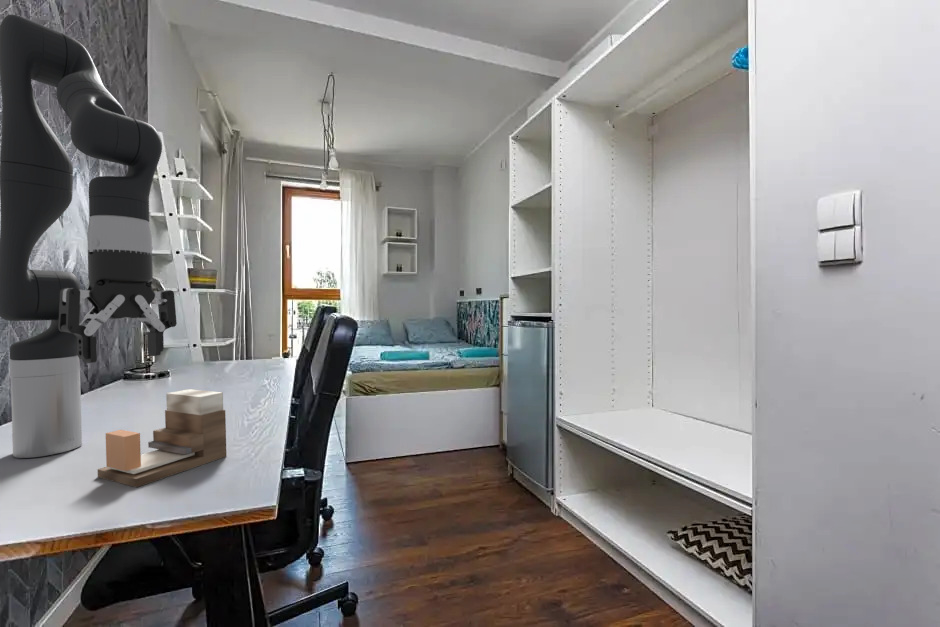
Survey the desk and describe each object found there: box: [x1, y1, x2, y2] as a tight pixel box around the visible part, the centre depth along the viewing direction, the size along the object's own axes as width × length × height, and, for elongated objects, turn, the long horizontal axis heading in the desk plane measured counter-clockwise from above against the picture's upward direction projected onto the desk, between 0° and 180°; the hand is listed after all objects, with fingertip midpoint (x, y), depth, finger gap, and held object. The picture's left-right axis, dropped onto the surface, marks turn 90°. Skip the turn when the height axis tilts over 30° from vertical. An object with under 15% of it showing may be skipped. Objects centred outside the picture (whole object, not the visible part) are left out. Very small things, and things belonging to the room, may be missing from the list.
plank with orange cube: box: [105, 429, 195, 474], centre depth 69 cm, size 7×10×6 cm
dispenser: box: [97, 388, 228, 488], centre depth 71 cm, size 10×14×11 cm
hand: (123, 358), depth 66 cm, fingers open, 8 cm apart
